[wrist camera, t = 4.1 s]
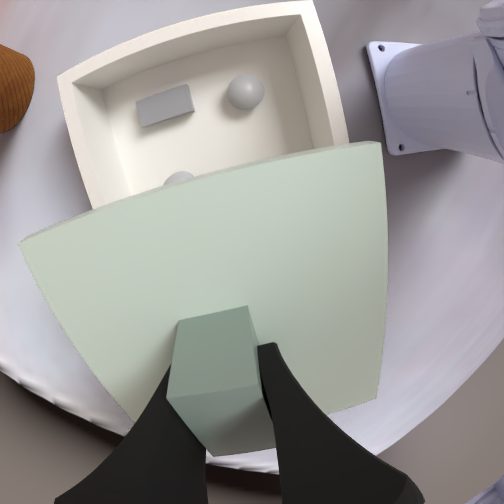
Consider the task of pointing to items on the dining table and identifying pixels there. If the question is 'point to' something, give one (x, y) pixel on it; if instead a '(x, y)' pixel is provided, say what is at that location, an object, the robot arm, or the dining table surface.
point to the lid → (229, 288)
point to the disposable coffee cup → (14, 87)
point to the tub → (202, 99)
